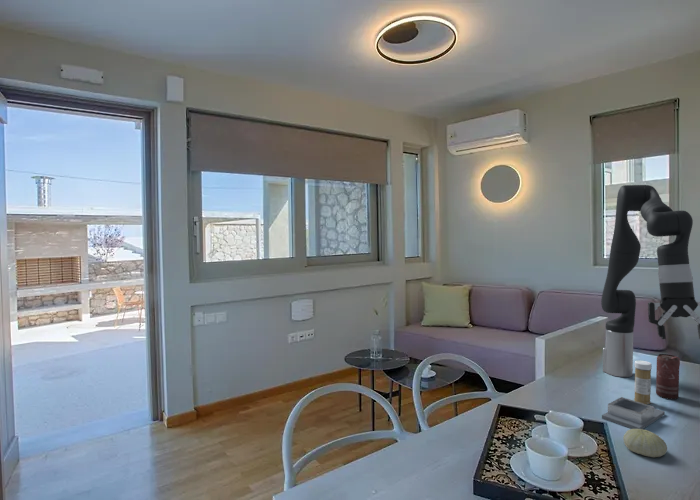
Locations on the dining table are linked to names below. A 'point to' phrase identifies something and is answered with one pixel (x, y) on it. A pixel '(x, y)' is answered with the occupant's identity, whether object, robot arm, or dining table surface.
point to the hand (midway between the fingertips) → (682, 339)
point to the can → (667, 376)
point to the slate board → (633, 425)
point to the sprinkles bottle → (642, 381)
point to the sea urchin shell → (644, 443)
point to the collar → (631, 410)
